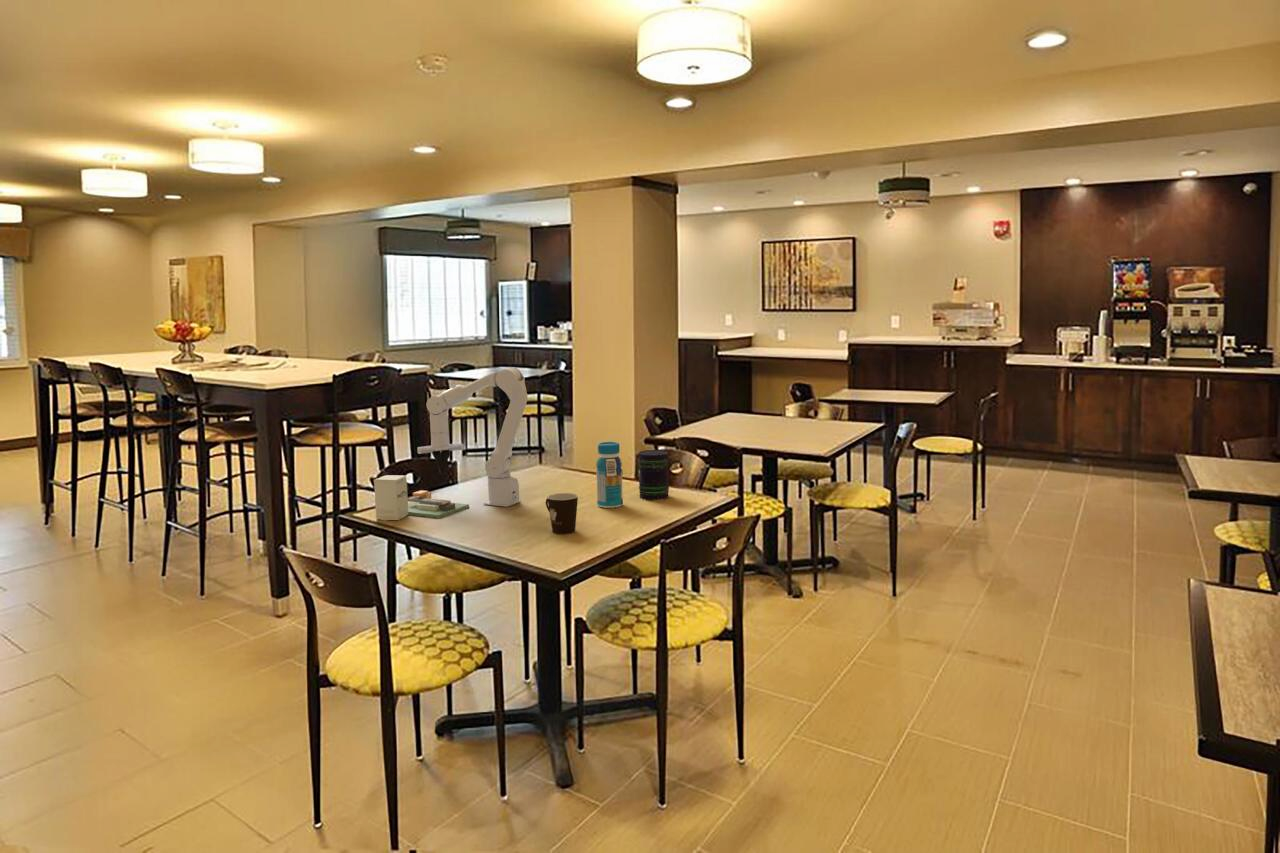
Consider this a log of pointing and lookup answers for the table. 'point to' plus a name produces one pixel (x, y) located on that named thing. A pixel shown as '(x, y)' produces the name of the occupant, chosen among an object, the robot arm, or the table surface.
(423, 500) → the grey flat bar
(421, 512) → the board
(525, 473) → the table surface
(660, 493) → the storage jar
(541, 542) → the table surface
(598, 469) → the beverage bottle
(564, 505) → the coffee mug
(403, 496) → the supplement box
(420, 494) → the lug
